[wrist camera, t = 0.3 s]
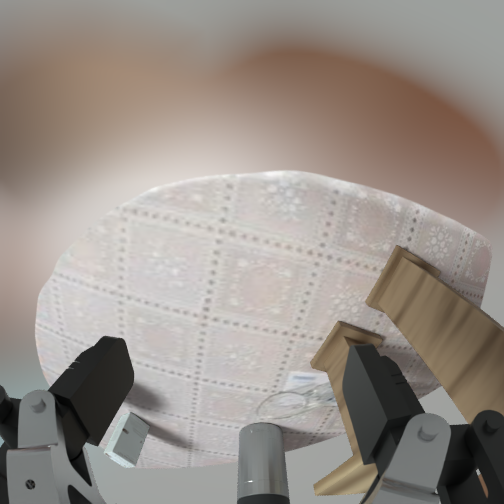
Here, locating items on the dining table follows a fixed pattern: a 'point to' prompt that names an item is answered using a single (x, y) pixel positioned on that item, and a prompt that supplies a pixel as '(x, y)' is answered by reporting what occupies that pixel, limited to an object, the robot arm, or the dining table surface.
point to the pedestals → (419, 352)
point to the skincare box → (127, 440)
